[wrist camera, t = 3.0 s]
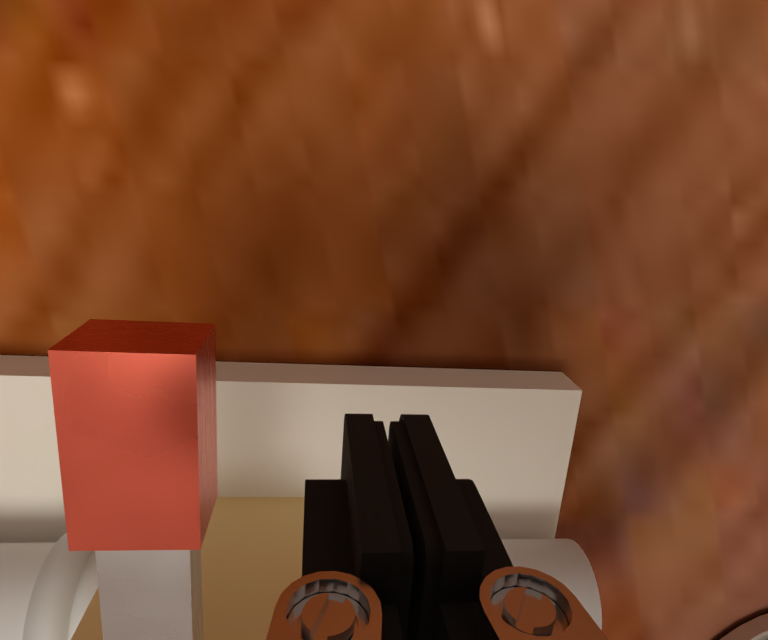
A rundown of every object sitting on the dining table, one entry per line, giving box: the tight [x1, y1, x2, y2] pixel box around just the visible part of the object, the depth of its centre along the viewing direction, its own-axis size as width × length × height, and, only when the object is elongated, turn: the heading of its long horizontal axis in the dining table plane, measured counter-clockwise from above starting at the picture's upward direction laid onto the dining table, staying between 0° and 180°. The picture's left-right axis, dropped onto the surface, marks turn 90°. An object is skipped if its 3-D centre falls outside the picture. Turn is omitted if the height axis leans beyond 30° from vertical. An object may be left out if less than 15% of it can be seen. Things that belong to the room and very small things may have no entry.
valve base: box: [0, 355, 602, 640], centre depth 19 cm, size 28×12×10 cm, turn 86°
